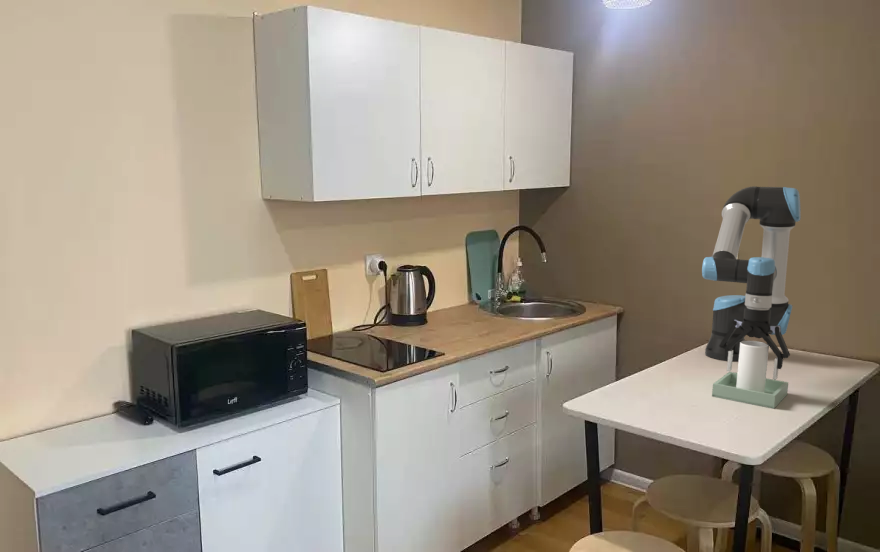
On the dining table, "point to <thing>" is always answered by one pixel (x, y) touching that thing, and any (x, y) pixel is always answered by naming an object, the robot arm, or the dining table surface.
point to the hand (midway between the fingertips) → (751, 374)
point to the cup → (752, 365)
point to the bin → (750, 391)
